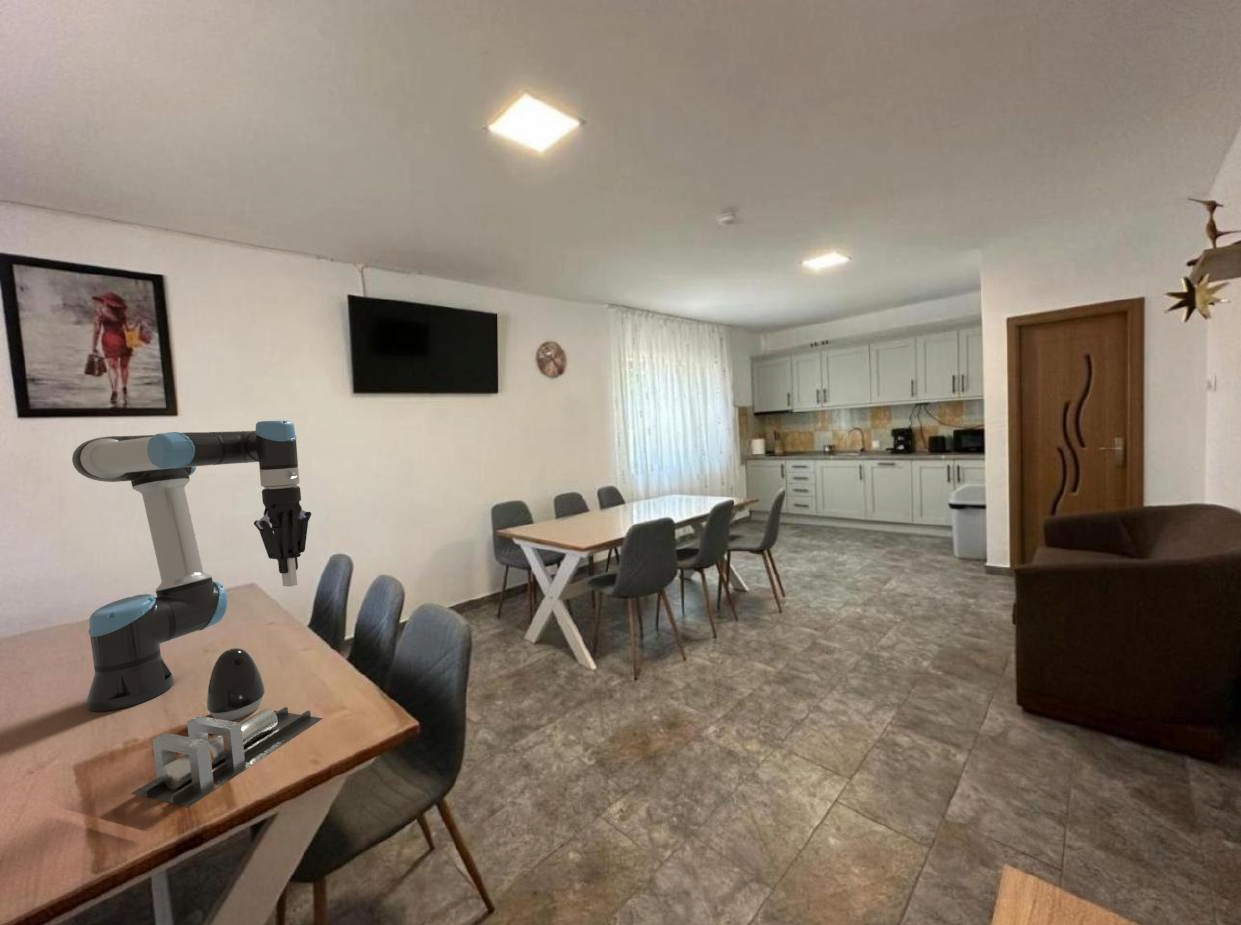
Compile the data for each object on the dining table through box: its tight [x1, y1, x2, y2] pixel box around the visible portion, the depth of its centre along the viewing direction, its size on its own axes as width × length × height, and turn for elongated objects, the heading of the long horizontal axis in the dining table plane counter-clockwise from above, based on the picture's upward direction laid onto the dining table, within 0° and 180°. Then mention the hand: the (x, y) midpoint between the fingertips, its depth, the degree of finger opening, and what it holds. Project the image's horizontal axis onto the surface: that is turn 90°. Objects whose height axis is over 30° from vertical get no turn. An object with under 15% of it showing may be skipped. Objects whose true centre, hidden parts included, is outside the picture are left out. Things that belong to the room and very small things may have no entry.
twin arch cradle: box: [130, 706, 324, 808], centre depth 97 cm, size 14×26×9 cm, turn 163°
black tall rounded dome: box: [206, 647, 266, 721], centre depth 111 cm, size 10×10×15 cm
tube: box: [162, 707, 278, 789], centre depth 96 cm, size 18×4×4 cm, turn 163°
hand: (290, 585), depth 119 cm, fingers closed
